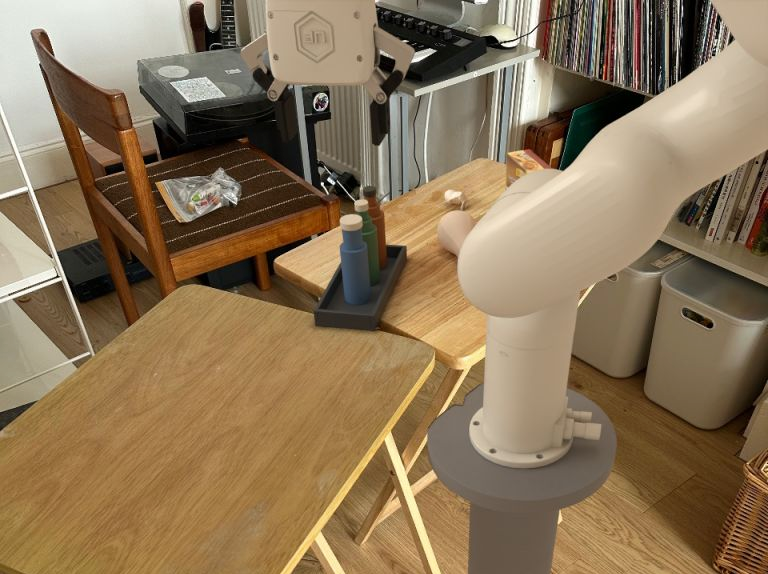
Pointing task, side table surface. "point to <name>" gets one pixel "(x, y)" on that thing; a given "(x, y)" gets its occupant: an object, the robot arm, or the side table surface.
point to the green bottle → (369, 240)
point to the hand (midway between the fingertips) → (334, 139)
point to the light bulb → (454, 230)
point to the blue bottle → (354, 261)
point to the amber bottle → (377, 223)
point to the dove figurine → (456, 197)
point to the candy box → (522, 165)
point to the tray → (366, 315)
